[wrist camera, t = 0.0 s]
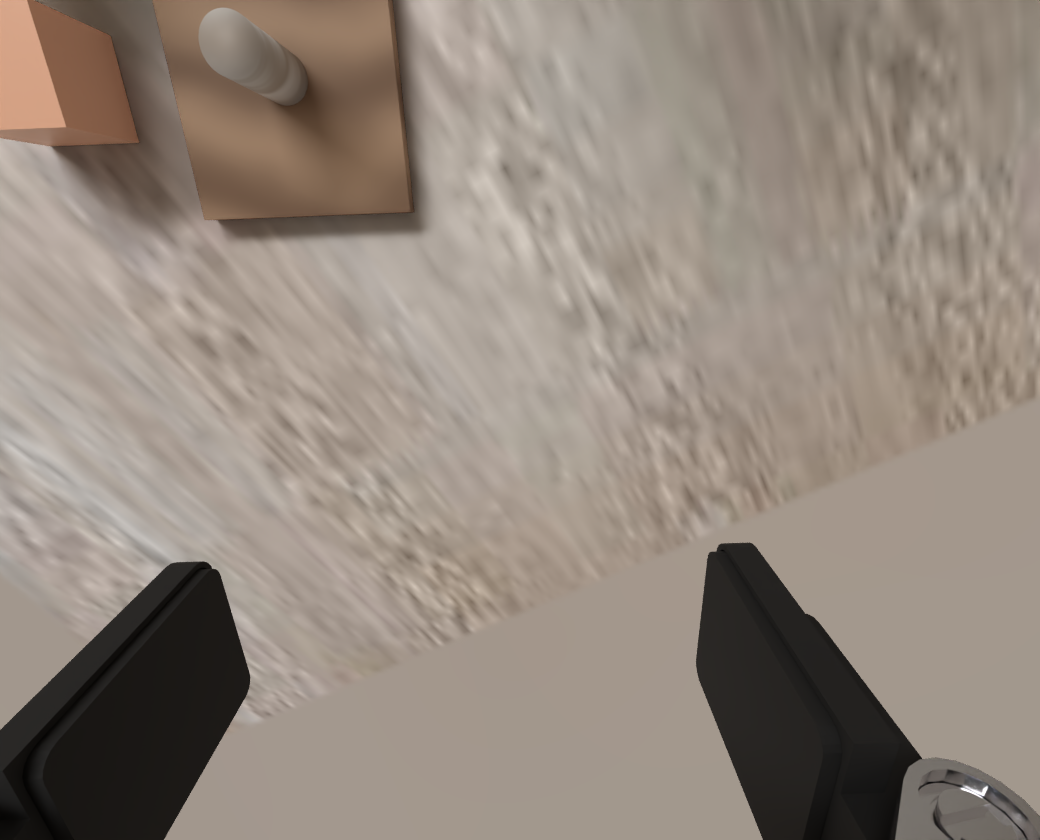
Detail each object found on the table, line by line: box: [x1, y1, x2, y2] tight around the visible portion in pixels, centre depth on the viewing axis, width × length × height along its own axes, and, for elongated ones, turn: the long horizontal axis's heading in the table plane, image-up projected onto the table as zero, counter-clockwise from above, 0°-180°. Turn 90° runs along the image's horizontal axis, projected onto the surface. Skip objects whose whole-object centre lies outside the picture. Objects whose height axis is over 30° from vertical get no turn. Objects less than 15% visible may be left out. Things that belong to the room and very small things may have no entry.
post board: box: [152, 0, 414, 220], centre depth 30 cm, size 16×14×8 cm
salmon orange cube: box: [0, 0, 139, 146], centre depth 31 cm, size 6×6×6 cm
